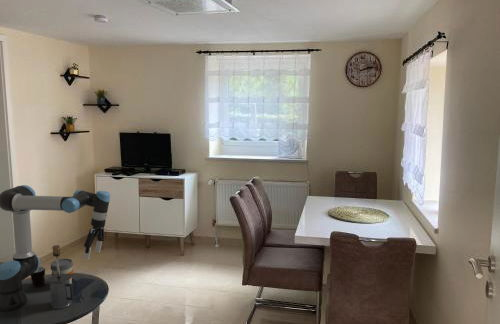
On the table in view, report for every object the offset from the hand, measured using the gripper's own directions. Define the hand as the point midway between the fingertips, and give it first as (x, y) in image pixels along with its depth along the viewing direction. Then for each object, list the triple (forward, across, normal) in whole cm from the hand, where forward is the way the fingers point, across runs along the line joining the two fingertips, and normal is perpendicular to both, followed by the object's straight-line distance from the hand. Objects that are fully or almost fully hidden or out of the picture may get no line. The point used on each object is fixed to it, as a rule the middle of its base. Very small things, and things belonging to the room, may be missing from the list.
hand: (91, 255), depth 234 cm
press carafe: (+29, -5, +9) cm, 31 cm away
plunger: (+18, -6, +12) cm, 22 cm away
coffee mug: (+33, +20, +37) cm, 53 cm away
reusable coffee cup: (+30, +18, +22) cm, 41 cm away
